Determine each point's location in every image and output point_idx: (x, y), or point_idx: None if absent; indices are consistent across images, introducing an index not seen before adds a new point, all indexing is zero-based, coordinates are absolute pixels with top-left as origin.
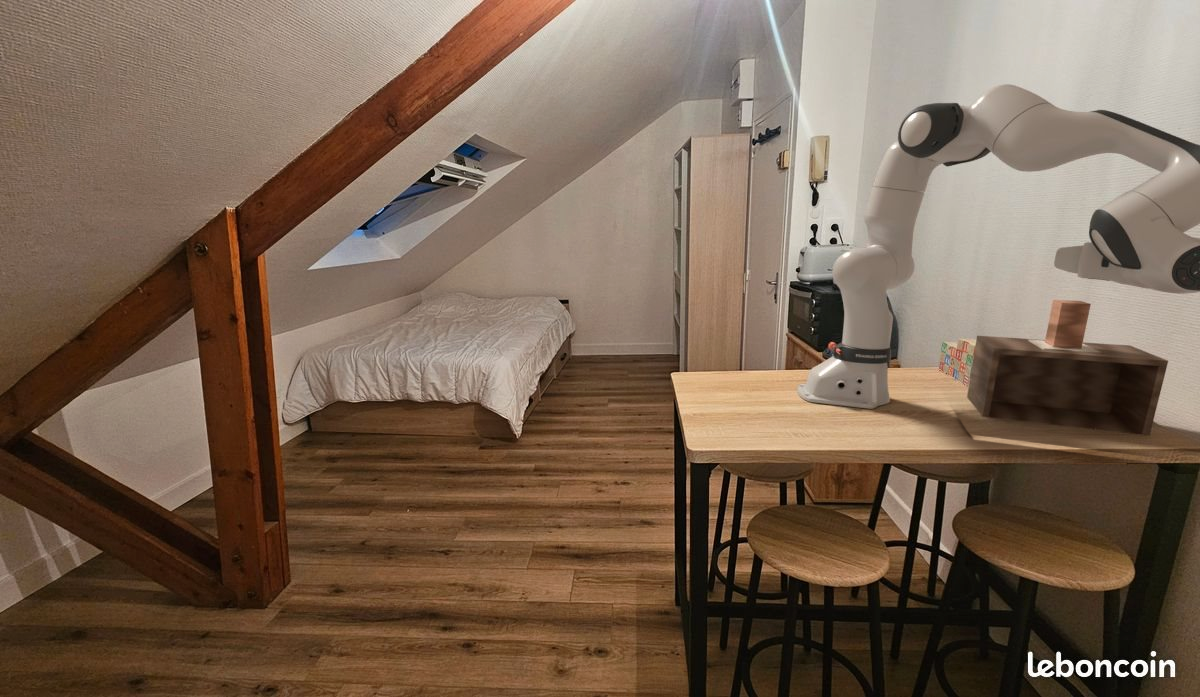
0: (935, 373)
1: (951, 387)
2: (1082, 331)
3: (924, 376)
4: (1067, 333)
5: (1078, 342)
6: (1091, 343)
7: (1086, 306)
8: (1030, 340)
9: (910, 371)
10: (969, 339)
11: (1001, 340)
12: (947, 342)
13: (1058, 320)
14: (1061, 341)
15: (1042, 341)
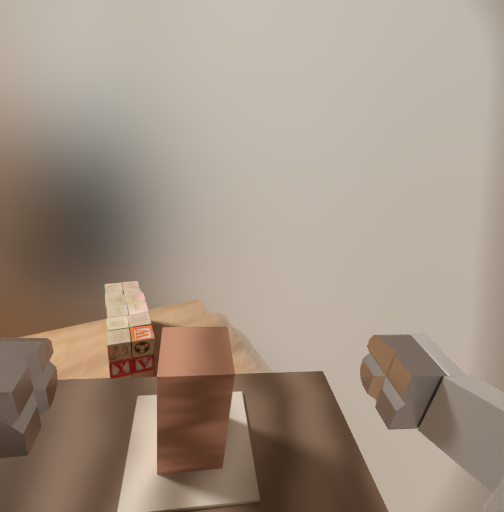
0: (94, 338)
1: None
2: (221, 435)
3: (63, 357)
4: (186, 444)
5: (214, 457)
6: (262, 378)
7: (224, 381)
8: (136, 405)
9: (54, 339)
10: (121, 298)
11: (64, 420)
12: (111, 285)
13: (157, 420)
14: (174, 461)
15: None
